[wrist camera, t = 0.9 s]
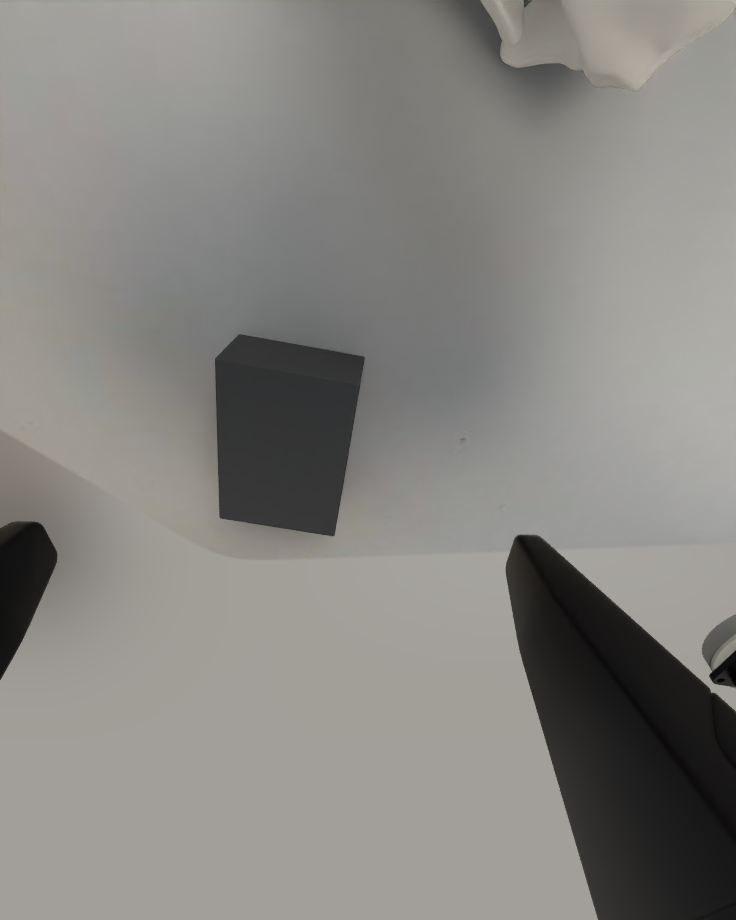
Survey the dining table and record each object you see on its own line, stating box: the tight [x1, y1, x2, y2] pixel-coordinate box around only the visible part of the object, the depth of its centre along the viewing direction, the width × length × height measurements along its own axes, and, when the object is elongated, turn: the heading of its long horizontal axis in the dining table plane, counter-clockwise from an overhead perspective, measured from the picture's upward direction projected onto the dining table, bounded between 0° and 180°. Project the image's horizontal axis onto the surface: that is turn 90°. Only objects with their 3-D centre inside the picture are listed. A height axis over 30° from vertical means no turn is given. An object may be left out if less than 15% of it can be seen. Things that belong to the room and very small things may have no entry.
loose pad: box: [215, 335, 364, 536], centre depth 20 cm, size 8×6×3 cm
